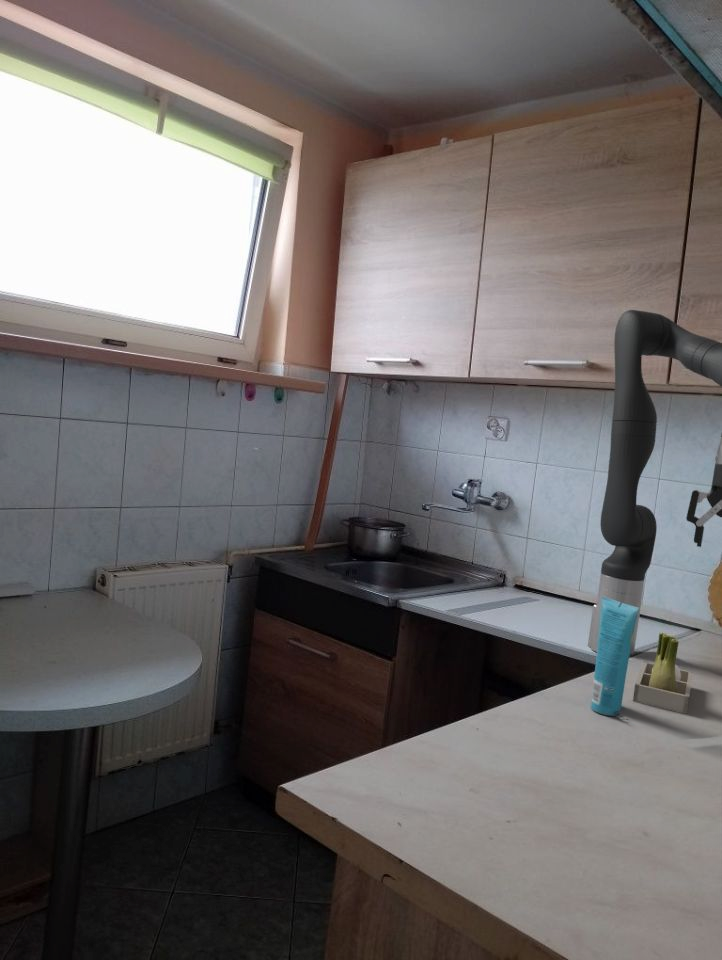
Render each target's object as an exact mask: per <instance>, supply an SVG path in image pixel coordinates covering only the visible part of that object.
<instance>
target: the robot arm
mask: <svg viewBox="0 0 722 960" xmlns="http://www.w3.org/2000/svg"><path fill="white" fill-rule="evenodd" d="M613 345H614V396H613V397H614V398H613V409H612V410H613V412H612V418H611V419H612V421H611V428H610V429H611V430H610V431H611V432H610V447H609V448H610V451H609V460H608V471H607V479H606V480H607V482H606V486H605V492H604V498H603V503H602V508H601V514H600V531H601V535H602V537H603V539H604V540H605V541H606V542H607V543H608V544H609V545H611V546H614V550H613V551H612V553H611V554H610V555H609V556H608V557H607V558H605V559H604V560H603V561H602V562H601V568H600V569H601V570H600V576H599V577H600V578H599V585H598V591H597V600H596V604H594V605H592V611H591V612H592V613H591V617H590V618H591V620H590V626H589V633H588V641H587V646H588V647H590V648H591V650H592V651H594V652H596V653H597V649H598V639H599V629H600V619H601V606H602V597H606V598H609V599H612V600H615V601H618V602H621V603H624V604H627V605H630V606H634V607H638V608H639V610H638V615H637V619H636V623H635V628H634V633H633V638H632V643H631V649H630V655H633V654H635V649H636V641H637V635H638V628H639V623H640V622H639V621H640V615H641V613H640V612H641V608H642V600H643V592H644V585H645V578H646V574H647V571H649V570H648V569H649V568H650V566H651V564H652V558H653V553H654V548H655V543H656V537H657V519H656V517H655V515H654V513H653V511H652V510H651V509H649V508H648V507H647V506H644V505H641V504H637V496H638V495H637V494H638V487H639V482H640V478H641V476H642V473H643V471H644V470H645V468H646V466H647V464H648V461H649V460H650V458H651V456H652V453H653V451H654V449H655V446H656V436H657V435H656V433H657V426H658V425H657V423H658V417H657V411H656V407H655V404H654V401H653V400H652V398H651V395H650V393H649V391H648V389H647V386H646V383H645V381H644V377H643V372H642V357H643V356H646V357H648V356H649V357H650V356H651V357H653V356H654V357H655V356H656V357H665V358H670V359H674V360H677V361H679V363H680V364H681V365H682V366H683V367H685V368H686V369H688V370H689V371H691V372H693V373H695V374H697V375H699V376H701V377H704V378H706V379H709V380H711V381H713V382H714V383H715V384H717V385H719V387H721V388H722V342H721V341H720V342H719V341H717V340H714V339H712V338H708V337H706V336H701V335H698V334H696V333H693V332H691V331H689V330H687V329H685V328H684V327H682V326H680V325H679V324H677V323H676V322H674V320H673V321H672V320H671V318H668V317H666V316H664V315H663V314H660V313H654V312H650V311H649V312H648V311H644V310H635V309H629V310H626V311H624V312H623V313H622V314H621V315H620V317H619V318H618V320H617V323H616V327H615V332H614V344H613ZM714 463H715V464H714V468H713V475H712V481H711V487H710V490H709V492H704V491H699V490H698V489H696V490H693V491H692V492H691V495H690V501H689V506H688V509H687V513H686V517H685V518H686V521H687V522H690V523H692V524H693V525H694V526H695V532H694V537H693V542H694V543H695V544H696V547H698V548H701V547H702V544H703V537H704V532H705V531H704V530H705V526H704V525H705V524H707V523H706V522H708V521H709V520H711V518H713V517H714V516H715V515H716V516H717V517H719V518H722V433H721V435H720V439H719V443H718V447H717V451H716V456H715V462H714ZM704 499H706V500H707V501H708V504H709V505H710V507H711V508H710V509H709V510H707V511H706V512H705V513H704V514H703V515H702V516H701V517H697V516H695V515H696V510H697V506H698V504H701V503H702V502H703V500H704ZM694 543H693V544H694Z"/></svg>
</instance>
